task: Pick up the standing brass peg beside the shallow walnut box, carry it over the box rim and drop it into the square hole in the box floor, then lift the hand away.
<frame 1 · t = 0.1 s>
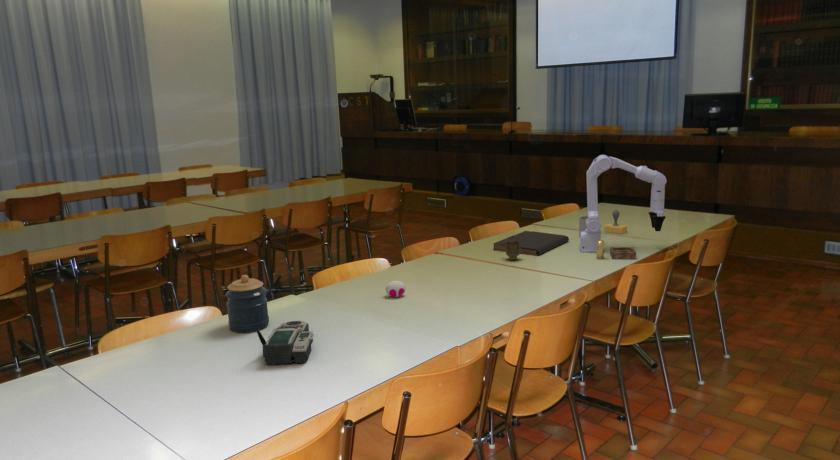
hand: (656, 229, 283), 10 cm above the table, fingers open, 7 cm apart
rubber stamp: (615, 232, 326), on the table
communication device: (291, 348, 188), on the table
peg: (600, 258, 276), on the table
cup 2: (512, 260, 279), on the table
stress ball: (396, 297, 232), on the table
box: (622, 256, 278), on the table
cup: (587, 237, 318), on the table
file folder: (531, 247, 304), on the table
canister: (249, 326, 207), on the table
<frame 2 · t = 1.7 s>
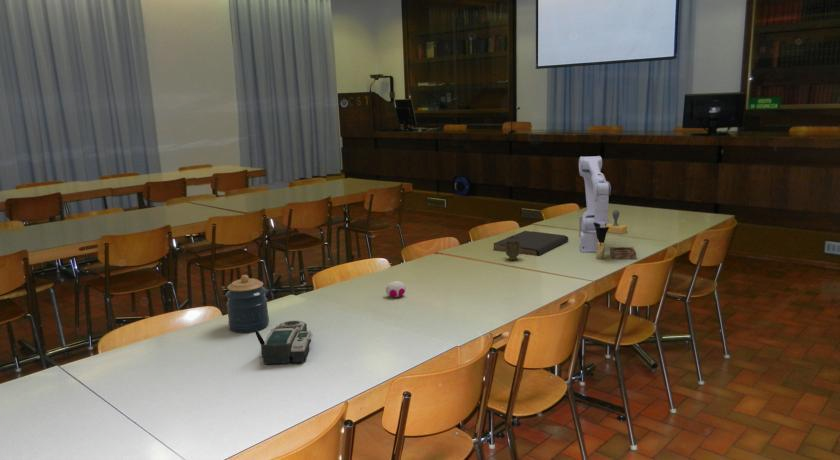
hand: (600, 240, 274), 8 cm above the table, fingers open, 7 cm apart
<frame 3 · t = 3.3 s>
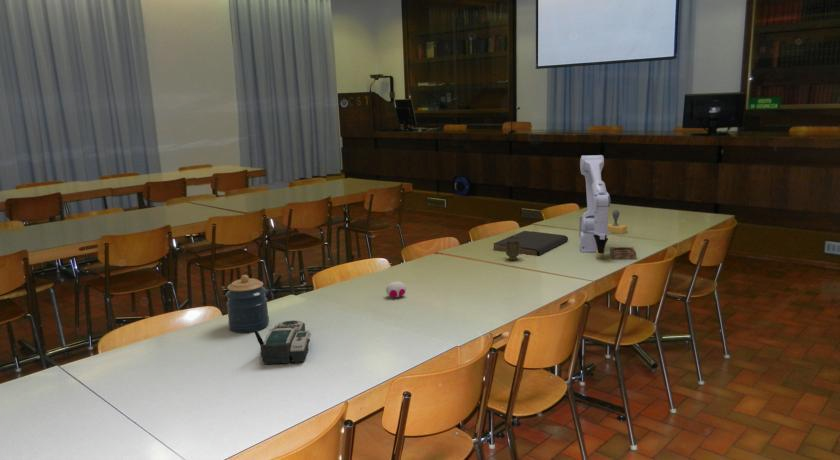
hand: (600, 252, 275), 3 cm above the table, fingers closed on peg, 3 cm apart
peg: (600, 258, 276), on the table, touching gripper
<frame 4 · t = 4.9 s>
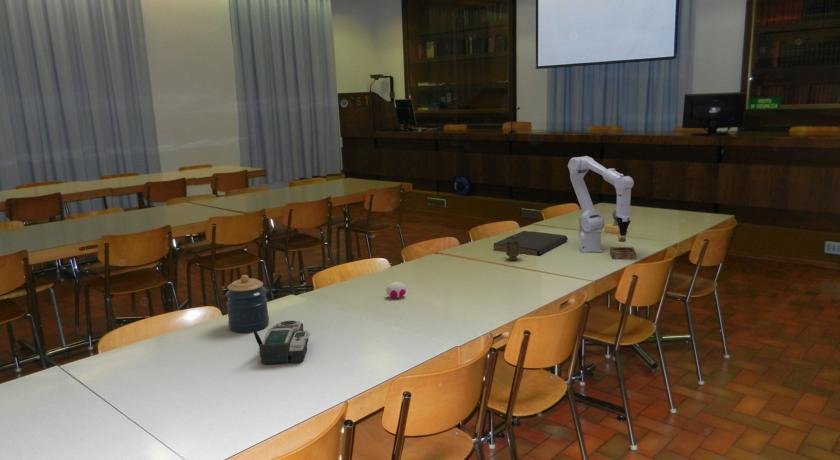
hand: (622, 234, 276), 10 cm above the table, fingers closed on peg, 3 cm apart
peg: (622, 241, 276), point 7 cm above the table, touching gripper
when the fingers open (4 cm above the table, at t = 6.8 s): peg stays where it is, resting in box.
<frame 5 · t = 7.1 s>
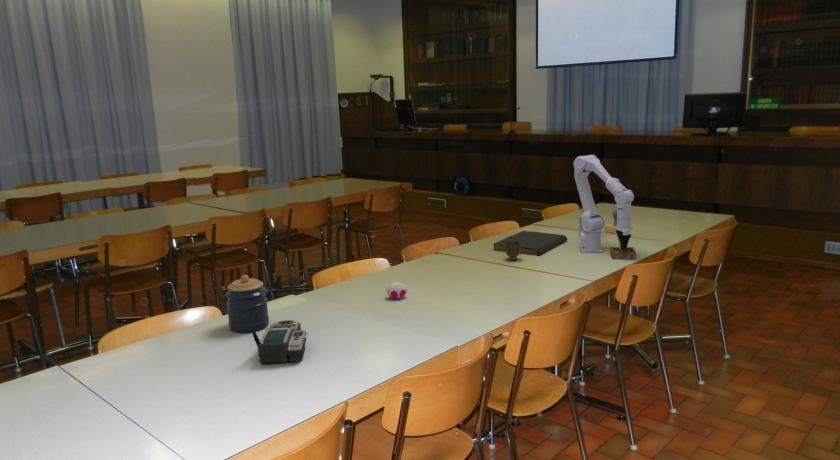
hand: (622, 247, 277), 4 cm above the table, fingers open, 5 cm apart
peg: (622, 256, 278), resting in box
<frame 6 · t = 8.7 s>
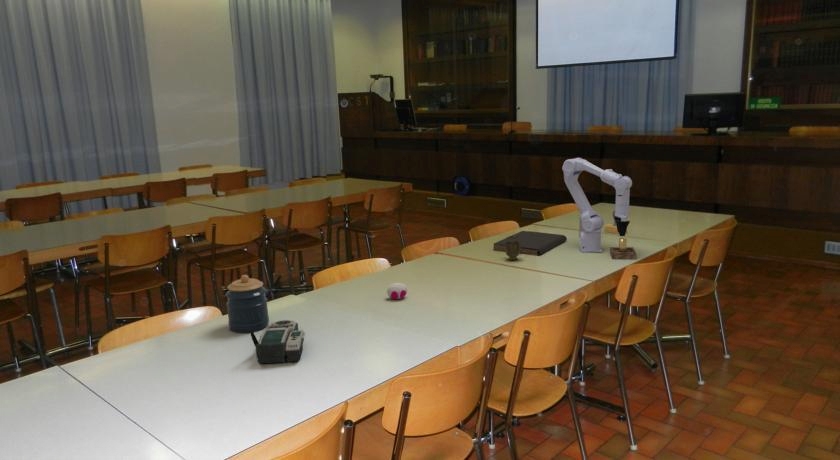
hand: (621, 234, 279), 9 cm above the table, fingers open, 7 cm apart
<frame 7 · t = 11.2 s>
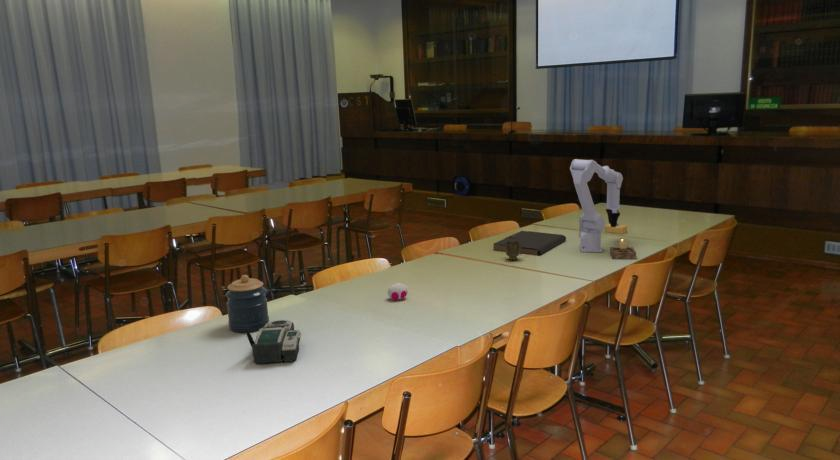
hand: (612, 225, 298), 9 cm above the table, fingers open, 7 cm apart
communication device: (278, 347, 190), on the table
at the end: peg 0.1 cm off-centre on the box, point 0.0 cm above the box's base; peg tilted 0°; the gripper is holding nothing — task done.
